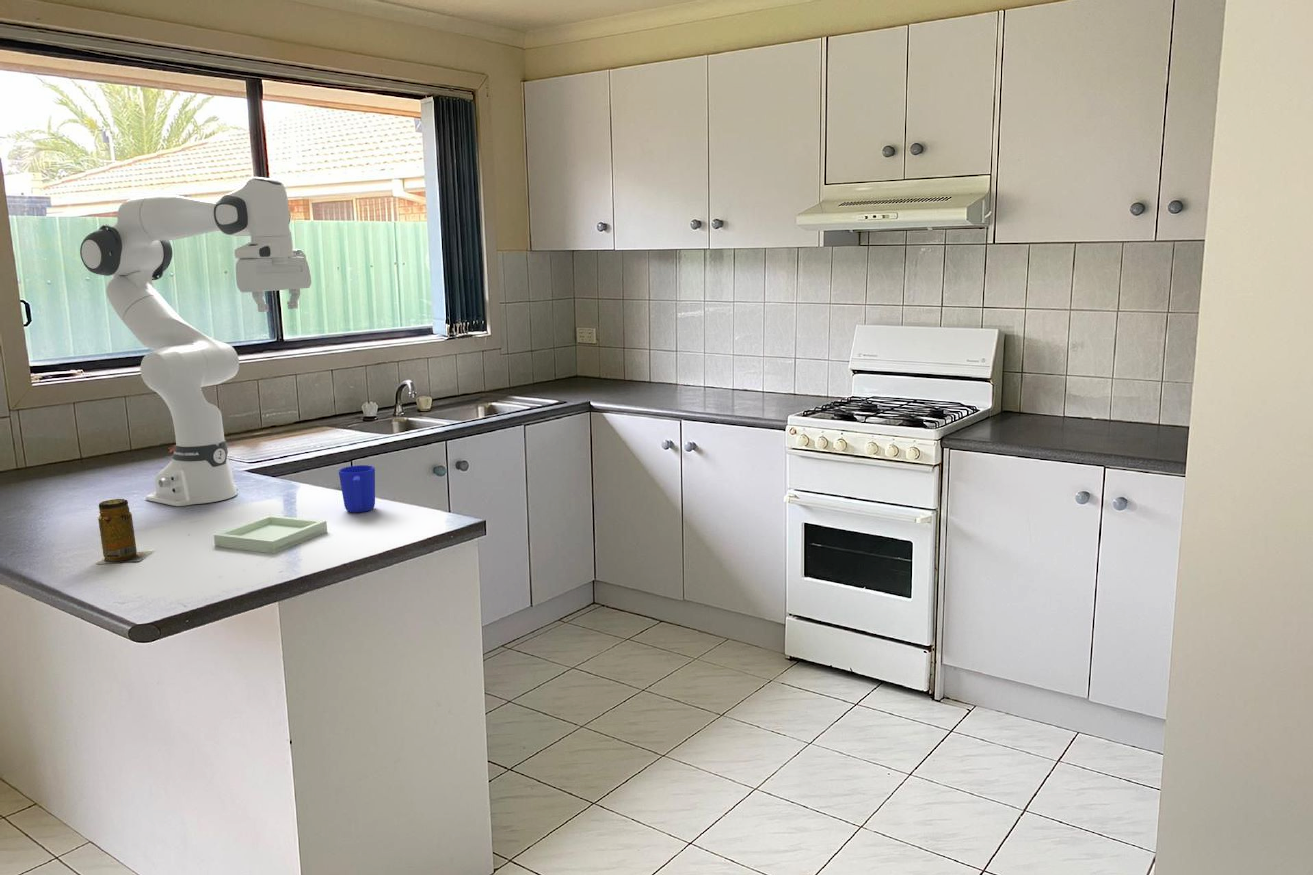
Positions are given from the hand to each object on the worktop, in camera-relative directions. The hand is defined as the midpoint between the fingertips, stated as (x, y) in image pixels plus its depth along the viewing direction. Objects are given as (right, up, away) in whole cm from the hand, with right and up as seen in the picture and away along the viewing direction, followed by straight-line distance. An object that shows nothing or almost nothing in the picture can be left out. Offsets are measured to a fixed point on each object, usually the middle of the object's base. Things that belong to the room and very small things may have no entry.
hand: (278, 310), depth 231 cm
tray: (+5, -51, -17) cm, 54 cm away
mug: (+18, -47, +3) cm, 51 cm away
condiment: (-21, -54, -27) cm, 64 cm away
